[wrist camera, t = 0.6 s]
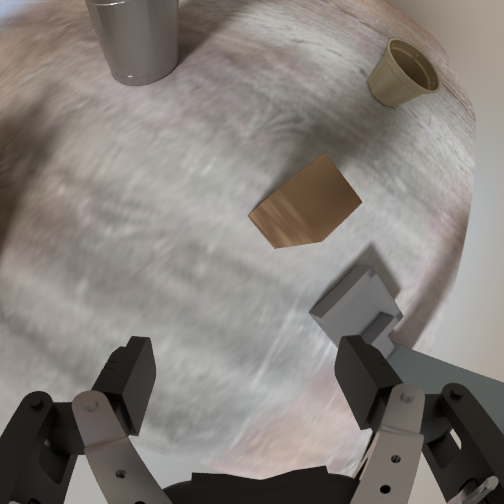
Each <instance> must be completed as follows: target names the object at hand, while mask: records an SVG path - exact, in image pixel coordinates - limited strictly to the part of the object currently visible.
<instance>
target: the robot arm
mask: <svg viewBox="0 0 504 504" xmlns="http://www.w3.org/2000/svg"><path fill="white" fill-rule="evenodd" d="M85 2H86V5H87V8H88V11H89V14H90V17H91V20H92V23H93V25H94V28H95V31H96V34H97V36H98V39H99V42H100V44H101V47H102V50H103V52H104V55H105V58H106V60H107V63H108V65H109V68H110V70H111V73H112V75H113V77H114V78H115V79H116V80H117V81H118V82H120V83H122V84H125V85H130V86H140V85H146V84H150V83H153V82H155V81H157V80H160V79H162V78H163V77H165V76H166V75H168V74H169V73H170V72H171V71H172V70H173V69H174V68H175V66H176V65H177V63H178V60H179V55H180V51H179V0H85ZM335 376H336V379H337V381H338V383H339V385H340V387H341V389H342V391H343V393H344V395H345V398H346V400H347V402H348V404H349V406H350V408H351V410H352V412H353V414H354V417H355V419H356V421H357V423H358V425H359V427H360V430H364V429H368V428H371V429H372V431H373V432H372V434H371V436H370V438H369V441H368V443H367V446H366V448H365V451H364V453H363V455H362V458H361V460H360V462H359V464H358V467H357V469H356V471H355V473H354V474H353V476H352V477H349V476H345V475H340V474H332V473H328V471H327V468H326V466H320V467H314V468H307V469H300V470H293V471H290V472H287V473H284V474H281V475H277V476H274V477H271V478H267V479H263V480H257V479H250V478H244V477H239V476H233V475H228V474H209V473H192V479H191V481H185V482H180V483H176V484H174V485H171V486H169V487H166V488H164V489H161V488H160V486H159V485H158V483H157V482H156V480H155V479H154V478H153V476H152V475H151V473H150V472H149V470H148V469H147V467H146V466H145V464H144V463H143V461H142V460H141V458H140V456H139V455H138V453H137V451H136V450H135V448H134V446H133V445H132V443H131V441H130V439H129V438H128V436H129V435H133V436H138V435H139V432H140V428H141V425H142V422H143V418H144V415H145V411H146V408H147V405H148V402H149V398H150V395H151V392H152V389H153V386H154V382H155V379H156V365H155V360H154V355H153V349H152V344H151V340H150V338H149V337H138V336H132V337H131V338H130V340H129V342H128V343H127V345H126V347H121V346H120V347H119V348H118V349H116V350H115V351H114V352H112V354H111V355H110V357H109V359H108V362H106V364H105V366H104V369H102V371H101V373H100V375H99V376H98V378H97V380H96V382H95V384H94V385H93V387H92V389H91V390H90V391H84V392H82V393H80V394H78V395H77V396H76V397H75V398H74V399H73V401H72V402H53V400H52V398H51V396H50V395H49V394H48V393H46V392H43V391H35V392H32V393H29V394H28V395H26V396H25V397H24V398H23V400H22V401H21V403H20V405H19V406H18V408H17V410H16V411H15V413H14V415H13V416H12V418H11V420H10V421H9V423H8V425H7V427H6V428H5V430H4V432H3V434H2V435H1V437H0V504H64V500H65V496H66V493H67V489H68V486H69V482H70V479H71V476H72V472H73V469H74V466H75V463H76V460H77V457H78V455H86V458H87V460H88V462H89V465H90V467H91V469H92V472H93V474H94V476H95V478H96V480H97V482H98V485H99V487H100V489H101V491H102V493H103V495H104V497H105V499H106V500H107V502H108V504H407V503H408V500H409V497H410V493H411V490H412V486H413V483H414V479H415V476H416V472H417V467H418V464H419V459H420V455H421V451H422V453H423V455H424V457H425V459H426V460H427V463H428V464H429V466H430V469H431V471H432V473H433V475H434V477H435V479H436V481H437V483H438V485H439V487H440V489H441V492H442V494H443V496H444V498H445V500H446V503H447V504H504V435H503V433H502V432H501V430H500V429H499V428H498V426H497V425H496V424H495V422H494V421H493V420H492V419H491V417H490V416H489V415H488V413H487V412H486V411H485V409H484V408H483V407H482V406H481V404H480V403H479V402H478V401H477V399H476V398H475V397H474V396H473V394H472V393H471V392H470V391H469V390H468V389H467V388H466V387H465V386H464V385H461V384H459V383H449V384H446V385H445V386H444V387H443V389H442V391H441V393H440V394H424V392H423V391H422V390H421V389H420V388H419V387H417V386H415V385H413V384H409V383H403V381H402V380H401V379H400V377H399V376H398V375H397V373H396V372H395V371H394V369H393V368H392V367H391V365H390V364H389V363H388V361H387V360H386V359H384V356H383V355H382V353H381V352H380V351H379V350H378V349H377V348H375V347H374V346H372V345H371V344H366V343H365V341H364V340H363V339H362V337H361V336H360V335H359V334H357V335H347V336H342V337H341V339H340V343H339V348H338V352H337V357H336V361H335ZM452 429H454V431H455V432H456V434H457V435H458V437H459V438H460V440H461V450H460V449H459V447H458V445H457V444H456V442H455V440H454V439H453V437H452V436H451V434H450V432H451V430H452Z"/></svg>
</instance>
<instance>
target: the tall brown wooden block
mask: <svg viewBox="0 0 504 504" xmlns="http://www.w3.org/2000/svg"><path fill="white" fill-rule="evenodd" d="M361 203H362V201H361V199H360V198H359V197H358V195H357V194H356V192H355V191H354V190H353V188H352V187H351V186H350V184H349V183H348V182H347V180H346V179H345V178H344V177H343V175H342V174H341V173H340V171H339V170H338V169H337V168H336V166H335V165H334V164H333V163H332V161H331V160H330V159H329V158H328V156H327V155H326V154H325V153H323V154H321V155H320V156H319V157H318V158H316V159H315V160H314V161H312V162H311V163H310V164H309V165H307V166H306V167H305V168H303V169H302V170H301V171H300V172H298V173H297V174H296V175H294V176H293V177H292V178H291V179H289V180H288V181H287V182H286V183H284V184H283V185H282V186H281V187H279V188H278V189H277V190H276V191H275V192H274V193H272V194H271V195H270V196H269V197H268V198H267V199H266V200H265V201H264V202H262V203H261V204H260V205H259V206H258V207H257V208H256V209H255V210H254V211H252V212H251V213H250V214H249V215H248V217H249V218H250V220H251V221H252V222H253V223H254V224H255V226H256V227H257V228H258V229H259V230H260V232H261V233H262V234H263V235H264V237H265V238H266V239H267V240H268V241H269V243H270V244H271V245H272V246H273V247H274V249H276V248H283V247H290V246H296V245H303V244H310V243H317V242H322V241H323V240H324V239H325V238H326V237H327V236H328V235H329V234H330V233H331V232H332V231H333V230H335V229H336V228H337V227H338V226H339V225H340V224H341V223H342V222H343V221H344V220H345V219H346V218H347V217H348V216H349V215H350V214H351V213H352V212H353V211H354V210H355V209H356V208H357V207H358V206H359V205H360V204H361Z"/></svg>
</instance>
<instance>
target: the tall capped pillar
mask: <svg viewBox="0 0 504 504" xmlns="http://www.w3.org/2000/svg"><path fill="white" fill-rule="evenodd" d="M309 314H310V315H311V316H312V317H313V319H314V320H315V321H316V322H317V324H318V325H319V326H320V327H321V328H322V330H323V331H324V332H325V333H326V334H327V336H328V337H329V338H330V339H331V341H332V342H333V343H334V344H335V345H336V347H337V348H339V343H340V339H341V337H342V336H347V335H357V334H359V335H360V336H361V337H362V339H363V340H364V341H365V343H366V344H371V345H372V346H374V347H375V348H377V349H378V350H379V351H380V352H381V353H382V355H383V356H384V359H386V360H387V361H388V363H389V364H390V365H391V367H392V368H393V369H394V371H395V372H396V373H397V375H398V376H399V377H400V379H401V380H402V381H403V383H409V384H413V385H415V386H417V387H419V388H420V389H421V390H422V391H423V392H424V394H440V393H441V391H442V389H443V387H444V386H445V385H446V384H449V383H459V384H461V385H464V386H465V387H466V388H467V389H468V390H469V391H470V392H471V393H472V394H473V396H474V397H475V398H476V399H477V401H478V402H479V403H480V404H481V406H482V407H483V408H484V409H485V411H486V412H487V413H488V415H489V416H490V417H491V419H492V420H493V421H494V422H495V424H496V425H497V426H498V428H499V429H500V430H501V432H502V433H503V435H504V383H503V382H500V381H497V380H494V379H491V378H489V377H485V376H483V375H480V374H477V373H474V372H471V371H469V370H466V369H463V368H460V367H457V366H455V365H452V364H449V363H447V362H444V361H441V360H438V359H436V358H433V357H430V356H428V355H425V354H422V353H420V352H417V351H414V350H412V349H409V348H407V347H404V346H401V345H399V344H396V343H394V342H392V341H391V340H390V338H389V337H388V334H389V333H390V332H391V331H392V330H393V328H394V327H395V326H396V325H397V324H398V322H399V321H400V320H401V319H402V318H403V314H402V313H401V311H400V309H399V308H398V306H397V304H396V303H395V301H394V300H393V298H392V296H391V295H390V293H389V292H388V290H387V289H386V287H385V285H384V284H383V282H382V281H381V279H380V278H379V276H378V275H377V273H376V272H375V270H374V269H373V267H372V266H355V267H354V268H353V269H352V270H351V271H350V272H349V273H348V274H347V275H346V276H345V277H344V278H343V279H342V280H341V281H340V282H339V283H338V284H337V285H336V286H335V287H334V288H333V289H332V290H331V291H330V292H329V293H328V294H327V295H326V296H325V297H324V298H323V299H322V300H321V301H320V302H319V303H318V304H317V305H316V306H315V307H314V308H313V309H312V310H311V311H310V312H309Z"/></svg>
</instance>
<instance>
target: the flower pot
mask: <svg viewBox="0 0 504 504" xmlns="http://www.w3.org/2000/svg"><path fill="white" fill-rule="evenodd" d="M368 84H369V86H370V89H371V92H372V94H373V95H374V96H375V98H376V99H377V100H379V101H380V102H381V103H383V104H384V105H386V106H393V107H396V106H398V105H400V104H402V103H404V102H406V101H408V100H411V99H413V98H415V97H417V96H419V95H422V94H428V93H436V92H437V91H439V89H440V79H439V76H438V73H437V71H436V69H435V68H434V66H433V64H432V63H431V61H430V60H429V59H428V58H427V57H426V56H425V54H423V52H422V51H420V50H419V49H418V48H417V47H415V46H414V45H412V44H411V43H409V42H407V41H405V40H403V39H399V38H392V39H390V40H389V41H388V43H387V48H386V50H385V54H384V56H383V57H382V59H381V60H380V62H379V63H378V65H377V66H376V68H375V69H374V71H373V72H372V74H371V75H370V76H369V78H368Z"/></svg>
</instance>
